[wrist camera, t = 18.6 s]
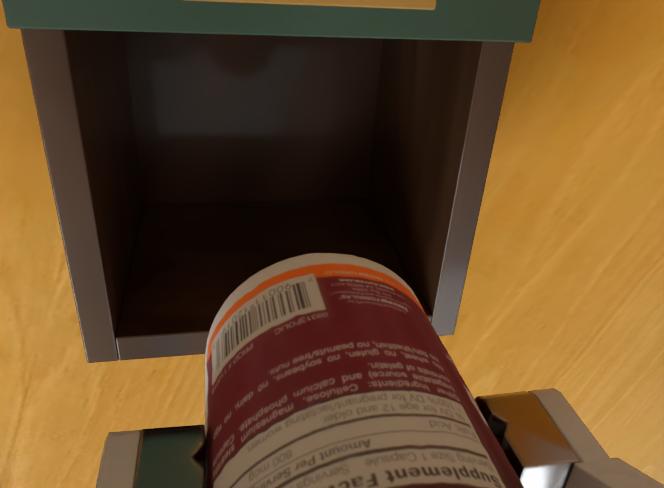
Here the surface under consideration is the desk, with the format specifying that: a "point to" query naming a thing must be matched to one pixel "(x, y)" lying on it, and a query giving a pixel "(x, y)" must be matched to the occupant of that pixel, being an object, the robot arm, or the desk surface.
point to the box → (256, 167)
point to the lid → (288, 17)
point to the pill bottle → (339, 387)
